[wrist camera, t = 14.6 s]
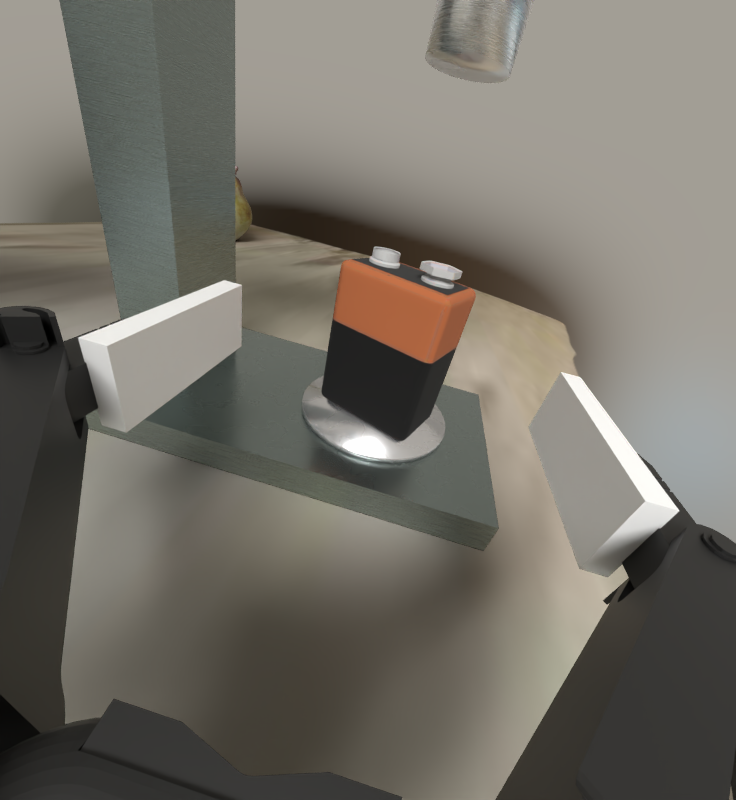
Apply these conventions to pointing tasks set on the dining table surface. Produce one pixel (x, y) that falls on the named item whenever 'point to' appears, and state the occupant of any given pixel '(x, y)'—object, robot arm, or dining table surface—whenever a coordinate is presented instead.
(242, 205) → the fruit
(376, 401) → the battery
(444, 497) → the arbor press
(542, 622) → the dining table surface
